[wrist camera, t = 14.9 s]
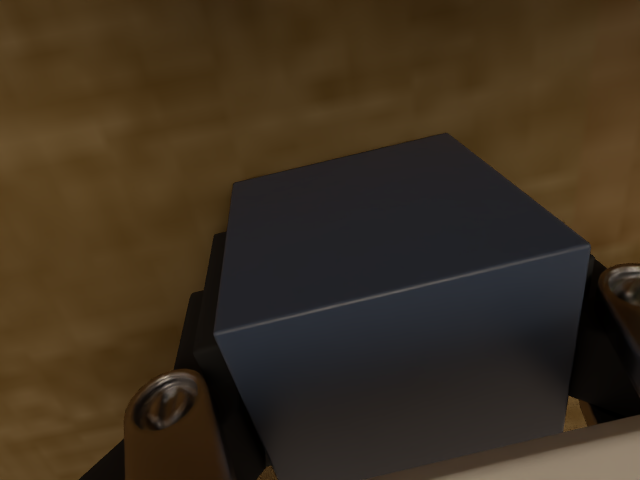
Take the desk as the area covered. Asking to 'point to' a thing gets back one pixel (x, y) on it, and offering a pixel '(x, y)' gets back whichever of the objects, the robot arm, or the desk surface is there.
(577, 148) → the desk surface
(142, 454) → the robot arm
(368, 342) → the block
